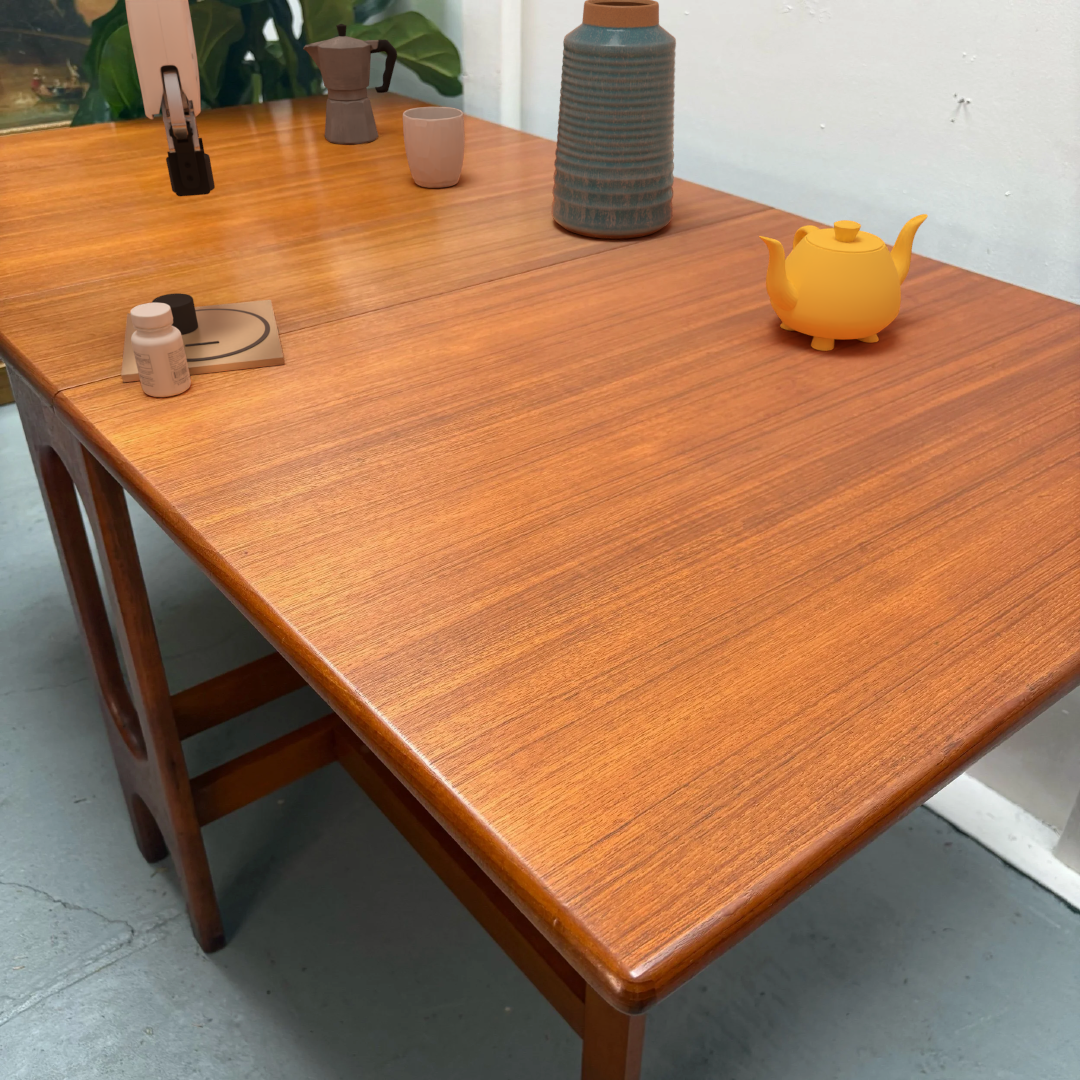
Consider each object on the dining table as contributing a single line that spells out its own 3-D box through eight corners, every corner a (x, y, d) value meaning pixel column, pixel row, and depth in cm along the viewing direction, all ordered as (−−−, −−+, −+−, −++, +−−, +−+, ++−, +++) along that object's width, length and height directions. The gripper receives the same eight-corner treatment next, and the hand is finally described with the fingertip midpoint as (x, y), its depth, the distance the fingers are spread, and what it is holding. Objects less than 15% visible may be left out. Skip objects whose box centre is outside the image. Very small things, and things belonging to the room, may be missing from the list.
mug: (475, 186, 153) (473, 115, 147) (419, 193, 149) (414, 121, 144) (443, 167, 162) (440, 99, 156) (390, 173, 159) (385, 104, 153)
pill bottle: (191, 375, 97) (175, 297, 93) (192, 395, 94) (176, 315, 90) (142, 381, 96) (124, 302, 92) (142, 401, 93) (123, 320, 88)
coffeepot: (310, 145, 173) (297, 28, 163) (316, 132, 181) (303, 20, 171) (401, 144, 174) (394, 27, 164) (403, 131, 182) (395, 19, 172)
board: (122, 382, 96) (120, 372, 95) (128, 320, 109) (126, 310, 108) (284, 364, 100) (283, 354, 99) (272, 306, 112) (270, 296, 112)
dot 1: (172, 196, 97) (165, 163, 95) (172, 185, 100) (165, 153, 98) (215, 192, 98) (209, 160, 96) (214, 182, 101) (208, 150, 99)
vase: (545, 239, 132) (547, 8, 117) (557, 203, 146) (560, -8, 131) (671, 244, 131) (689, 11, 116) (672, 208, 144) (688, -5, 129)
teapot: (857, 293, 117) (877, 191, 110) (946, 341, 105) (974, 230, 99) (705, 317, 110) (716, 210, 104) (782, 371, 99) (800, 255, 92)
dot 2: (157, 337, 103) (151, 309, 101) (158, 323, 106) (152, 295, 104) (198, 333, 104) (193, 305, 102) (198, 319, 107) (192, 291, 105)
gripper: (111, -34, 94) (153, 169, 105) (102, -16, 81) (151, 215, 91) (195, -37, 96) (228, 164, 106) (199, -19, 83) (237, 208, 93)
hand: (192, 186), depth 99 cm, fingers closed on dot 1, 4 cm apart
